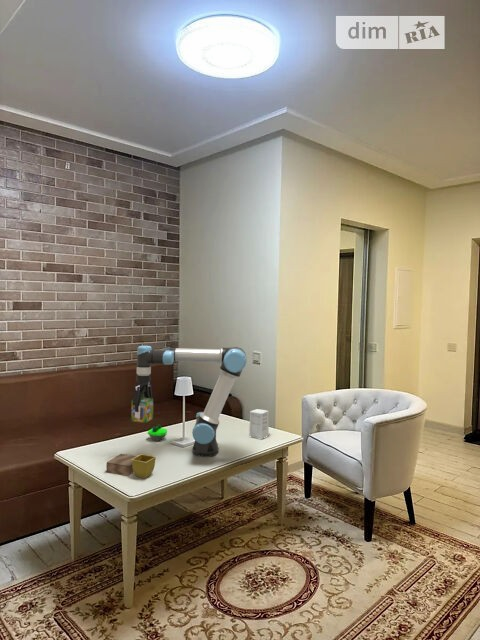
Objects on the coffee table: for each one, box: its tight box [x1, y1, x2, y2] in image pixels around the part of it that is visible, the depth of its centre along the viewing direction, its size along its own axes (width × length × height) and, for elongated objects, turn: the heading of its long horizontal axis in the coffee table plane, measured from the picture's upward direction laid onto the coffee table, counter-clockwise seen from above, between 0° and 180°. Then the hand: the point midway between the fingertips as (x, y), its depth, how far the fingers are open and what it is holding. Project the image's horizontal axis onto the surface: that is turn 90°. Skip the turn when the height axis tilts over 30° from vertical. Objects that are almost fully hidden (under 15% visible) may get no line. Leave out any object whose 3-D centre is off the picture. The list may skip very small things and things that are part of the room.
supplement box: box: [248, 408, 270, 440], centre depth 286 cm, size 10×9×17 cm
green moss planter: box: [147, 423, 168, 441], centre depth 274 cm, size 12×12×11 cm
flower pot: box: [132, 453, 157, 479], centre depth 218 cm, size 9×9×9 cm
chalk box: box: [130, 393, 154, 424], centre depth 240 cm, size 9×9×15 cm
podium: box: [105, 453, 138, 477], centre depth 226 cm, size 13×13×5 cm
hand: (142, 415), depth 240 cm, fingers closed on chalk box, 9 cm apart
